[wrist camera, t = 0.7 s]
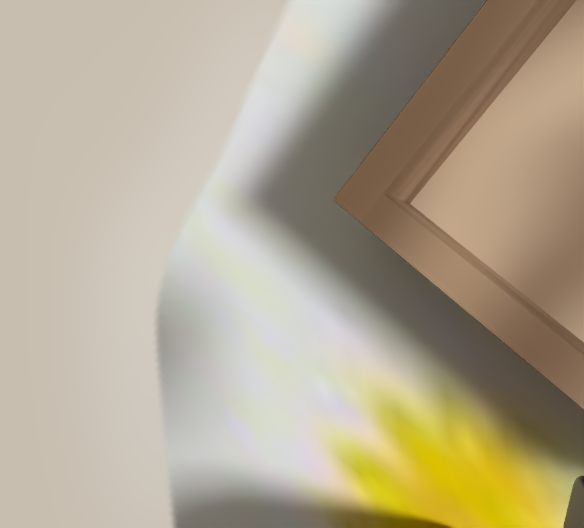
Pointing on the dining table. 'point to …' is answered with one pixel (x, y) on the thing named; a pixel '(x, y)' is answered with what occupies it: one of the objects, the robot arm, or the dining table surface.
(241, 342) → the dining table surface
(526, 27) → the walnut box
